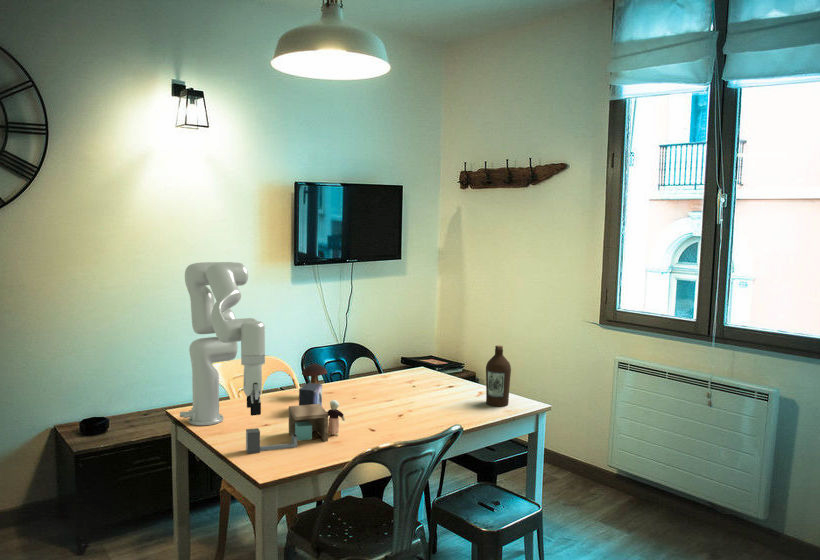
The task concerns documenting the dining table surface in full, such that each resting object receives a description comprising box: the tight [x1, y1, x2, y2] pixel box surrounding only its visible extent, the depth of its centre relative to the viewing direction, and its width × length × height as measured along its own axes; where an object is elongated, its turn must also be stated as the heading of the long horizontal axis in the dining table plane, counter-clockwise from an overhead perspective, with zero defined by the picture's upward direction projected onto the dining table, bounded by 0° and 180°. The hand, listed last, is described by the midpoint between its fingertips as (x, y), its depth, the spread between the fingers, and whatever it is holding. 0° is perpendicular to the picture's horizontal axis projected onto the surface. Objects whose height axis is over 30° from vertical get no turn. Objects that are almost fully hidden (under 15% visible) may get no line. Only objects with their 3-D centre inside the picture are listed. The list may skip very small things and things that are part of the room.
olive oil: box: [485, 345, 512, 408], centre depth 272 cm, size 11×11×25 cm
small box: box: [298, 382, 323, 407], centre depth 255 cm, size 11×6×10 cm, turn 168°
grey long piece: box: [245, 427, 298, 455], centre depth 214 cm, size 16×6×7 cm, turn 111°
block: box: [295, 421, 313, 441], centre depth 225 cm, size 5×5×5 cm
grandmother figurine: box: [326, 399, 346, 437], centre depth 228 cm, size 8×4×13 cm, turn 93°
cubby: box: [288, 404, 329, 442], centre depth 225 cm, size 11×13×10 cm
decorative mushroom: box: [301, 362, 328, 384], centre depth 276 cm, size 11×11×15 cm
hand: (253, 411), depth 209 cm, fingers open, 9 cm apart
